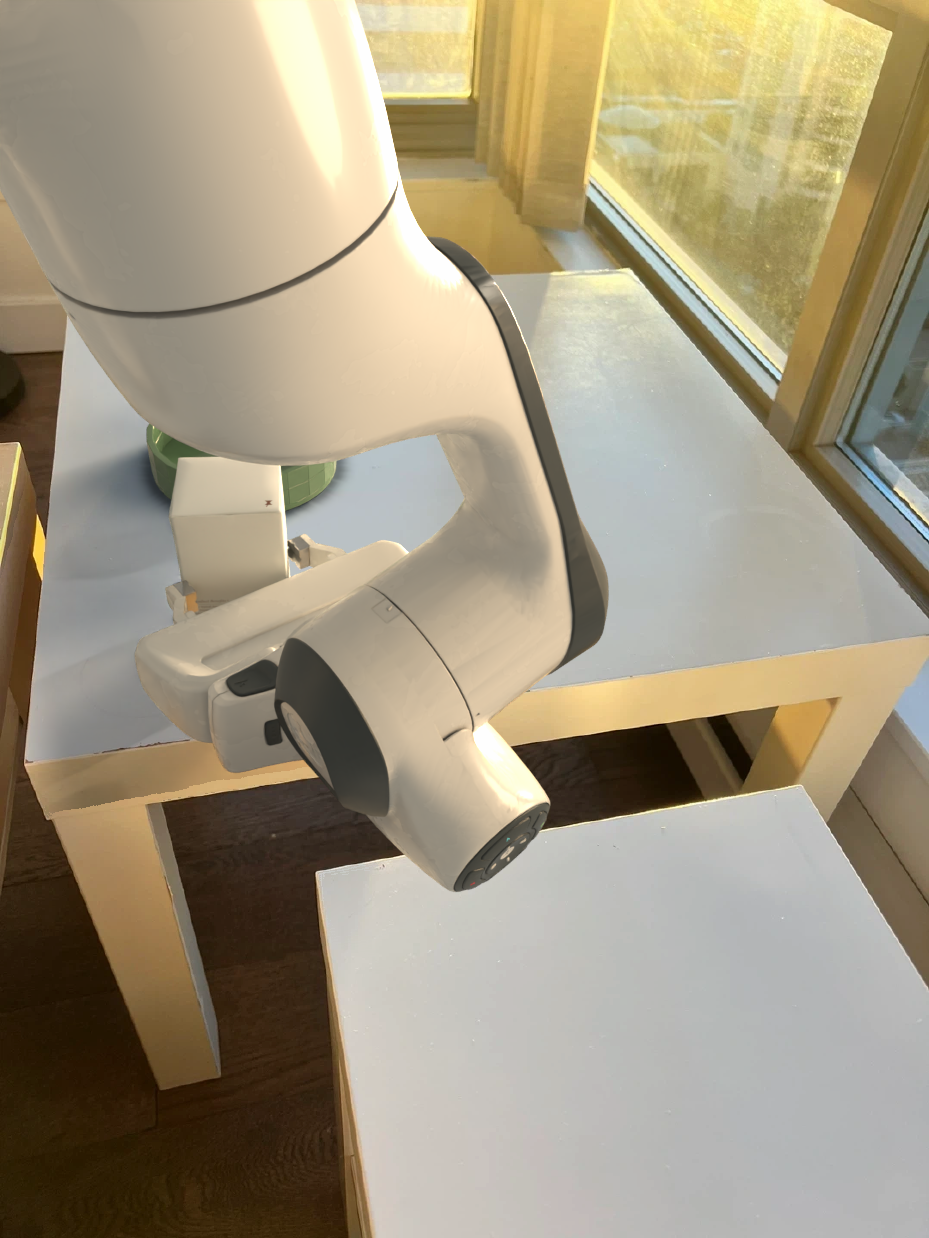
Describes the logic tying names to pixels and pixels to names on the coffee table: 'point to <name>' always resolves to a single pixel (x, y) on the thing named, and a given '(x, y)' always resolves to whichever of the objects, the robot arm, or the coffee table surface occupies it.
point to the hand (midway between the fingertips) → (237, 567)
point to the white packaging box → (228, 528)
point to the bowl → (166, 451)
